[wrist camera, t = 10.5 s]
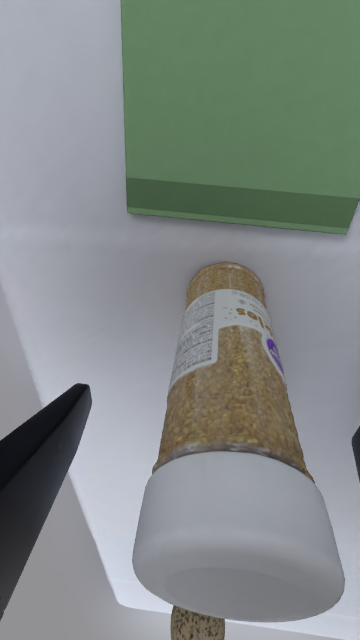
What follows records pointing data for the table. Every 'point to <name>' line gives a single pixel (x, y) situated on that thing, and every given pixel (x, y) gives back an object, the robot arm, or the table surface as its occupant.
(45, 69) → the table surface
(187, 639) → the decorative egg
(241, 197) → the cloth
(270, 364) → the sprinkles bottle
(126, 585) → the table surface
